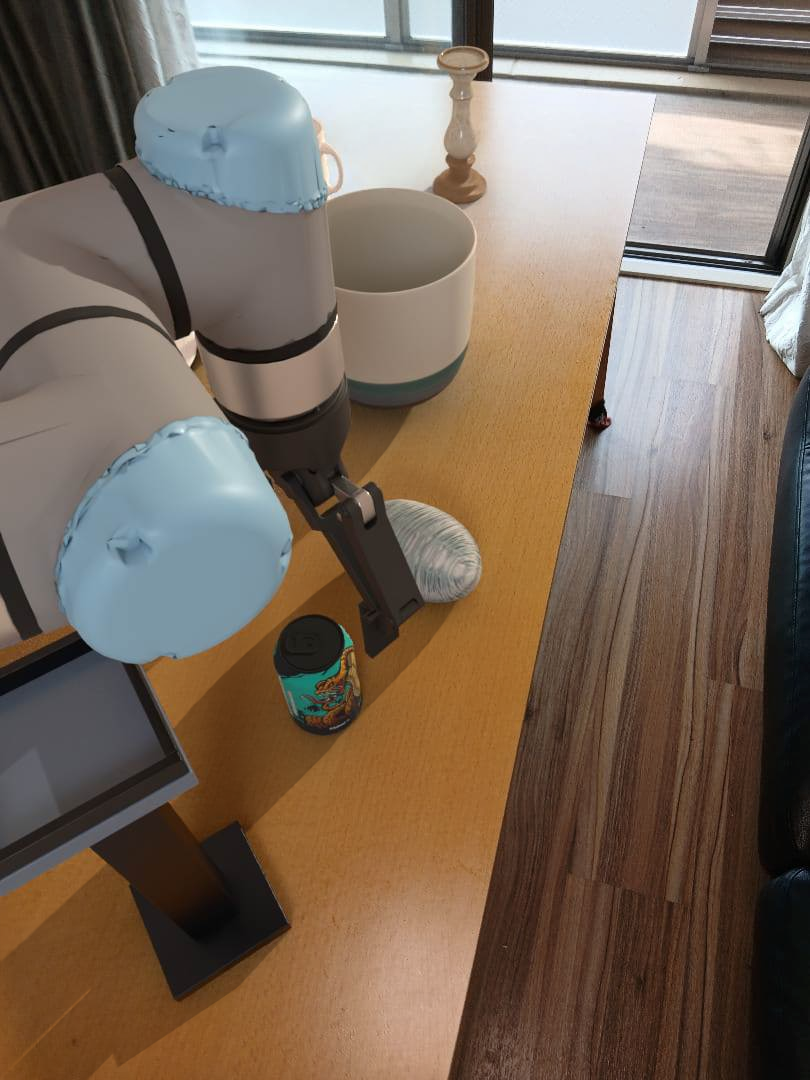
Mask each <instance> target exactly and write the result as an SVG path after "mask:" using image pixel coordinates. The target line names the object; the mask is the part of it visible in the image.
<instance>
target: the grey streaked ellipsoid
mask: <svg viewBox="0 0 810 1080" xmlns="http://www.w3.org/2000/svg"><path fill="white" fill-rule="evenodd" d="M384 503H385V509H386V514H387V517H388V519H389V521H390V523H391V526H392V528H393V530H394V533H395V535H396V537H397V540H398V542H399V544H400V547H401V549H402V551H403V554H404V556H405V558H406V561H407V563H408V565H409V567H410V570H411V572H412V574H413V577H414V579H415V581H416V584H417V586H418V588H419V591H420V593H421V595H422V598H423V600H424V602H427V603H435V604H443V603H445V604H446V603H451V602H455V601H458V600H461V599H463V598H465V597H467V596H469V595H470V594H471V593H472V592H473V591H474V590H475V589H476V587H477V586H478V584H479V582H480V579H481V577H482V570H483V561H482V556H481V553H480V550H479V547H478V544H477V542H476V540H475V539H474V537H473V536H472V534H471V533H470V532H469V531H468V529H467V528H466V527H465V526H464V525H463V524H462V523H461V522H459V520H457V519H456V518H455V517H453V516H452V515H451V514H449V513H447V512H445V511H444V510H442V509H439V508H438V507H435V506H433V505H429V504H426V503H423V502H420V501H416V500H411V499H403V498H398V499H390V500H384Z"/></svg>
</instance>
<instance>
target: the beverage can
mask: <svg viewBox="0 0 810 1080" xmlns="http://www.w3.org/2000/svg"><path fill="white" fill-rule="evenodd" d="M355 653H356V652H355V647H354V642H353V639H352V638H351V635H350V634H349V632H347V630H346V629H345V628H344V627H343V626H342V625H340V624H339V623H338V622H337V621H336V620H334V619H333V618H332V617H329V616H328V615H324V614H319V613H310V614H304V615H300V616H298V617H296V618H294V619H292V620H290V621H289V622H288V623H286V625H285V626H284V627H283V629H282V631H281V632H280V633H279V635H278V639H277V641H276V643H275V646H274V648H273V655H272V658H273V665H274V668H275V672H276V674H277V678H278V681H279V683H280V686H281V689H282V693H283V695H284V699H285V702H286V705H287V707H288V711H289V713H290V714H289V715H290V716H291V719H292V720H293V722H294V723H295V725H297V726H298V727H299V728H300V729H301V730H302V731H304V732H306V733H308V734H310V735H313V736H314V735H316V736H331V735H334V734H337V733H340V732H342V731H344V730H346V729H347V728H348V727H349V726H351V725H352V724H353V722H355V720H356V719H357V717H358V716H359V713H360V711H361V708H362V705H363V703H362V702H363V695H362V690H361V689H362V688H361V683H360V677H359V671H358V666H357V659H356V654H355Z"/></svg>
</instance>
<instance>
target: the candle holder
mask: <svg viewBox="0 0 810 1080" xmlns="http://www.w3.org/2000/svg"><path fill="white" fill-rule="evenodd" d="M489 57H490V56H489V54H488V53H487V51H485V50H484V49H482V48H479V47H476V46H472V45H470V46H469V45H459V46H458V45H456V46H452V47H447V48H445V49H443V50H442V51H440V52H439V54H437V57H436V66H437V68H438V69H439V70H440V71H442V72H444V73H447V74H448V77H449V78H450V79H451V81H452V87H451V89H450V91H449V94H448V95H449V98H450V99H452V111H451V117H450V118H451V119H450V122H449V124H448V126H447V128H446V131H445V133H444V136H443V147H444V149H445V151H446V153H447V154H446V156H445V159H444V160H445V164H447V166H448V168H446V169H445V170H443V171H442V172H441V173H440V174H438V175H437V176H436V177H435V178H434V180H433V183H432V190H433V194H434V195H437V196H439V197H442V198H444V199H446V200H448V201H450V202H452V203H453V204H464V203H465V204H466V203H471V202H474V201H476V200H479V199H480V198H482V197H483V196H484V195H485V193H486V192H487V188H488V186H487V185H488V184H487V180H486V178H485V177H484V176H483V175H482V174H480V172H479V171H477V170H476V169H474V168H472V167H473V165H474V164H475V162H476V155H475V154H474V153H475V151H476V150H477V148H478V145H479V136H478V132H477V128H476V127H475V124H474V122H473V118H472V99H473V98H474V97H475V95H476V92H475V90H474V88H473V86H472V82H473V80H474V78H476V76H477V74H478V73H480V72H483V71H484V70H486V69H487V67H488V66H489V63H490V58H489Z"/></svg>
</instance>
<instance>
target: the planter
mask: <svg viewBox="0 0 810 1080" xmlns="http://www.w3.org/2000/svg"><path fill="white" fill-rule="evenodd" d="M326 205H327V216H328V227H329V237H330V248H331V257H332V266H333V275H334V285H335V293H336V298H337V312H338V313H337V314H338V321H339V329H340V336H341V344H342V351H343V359H344V366H345V368H344V371H345V373H346V377H347V384H348V393H349V401H350V403H353V404H355V405H357V406H361V407H364V408H366V409H371V410H374V411H375V410H376V411H385V412H386V411H388V412H390V411H401V410H406V409H407V410H408V409H412V408H414V407H417V406H420V405H422V404H424V403H426V402H429V401H430V400H432V399H434V398H435V397H437V396H438V395H439V394H441V393H443V391H444V390H445V389H447V387H448V386H449V385H450V384H451V383H452V382H453V380H454V379H455V378H456V376H457V374H458V372H459V371H460V369H461V367H462V364H463V362H464V360H465V357H466V354H467V351H468V348H469V343H470V338H471V330H472V323H473V322H472V320H473V310H474V299H475V284H476V283H475V282H476V268H477V267H476V266H477V244H478V238H477V237H478V236H477V230H476V227H475V225H474V223H473V221H472V219H471V218H470V216H469V215H468V214H467V213H466V212H465V211H464V210H463V209H462V208H461V207H459V206H458V205H456V203H453V202H450V201H448V200H446V199H444V198H442V197H439V196H437V195H436V194H435V193H430V192H427V191H423V190H419V189H412V188H405V187H404V188H403V187H377V188H366V189H361V190H356V191H352V192H348V193H343V194H340V195H338V196H335V197H333V198H331V199H330V200H328V201H326Z"/></svg>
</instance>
